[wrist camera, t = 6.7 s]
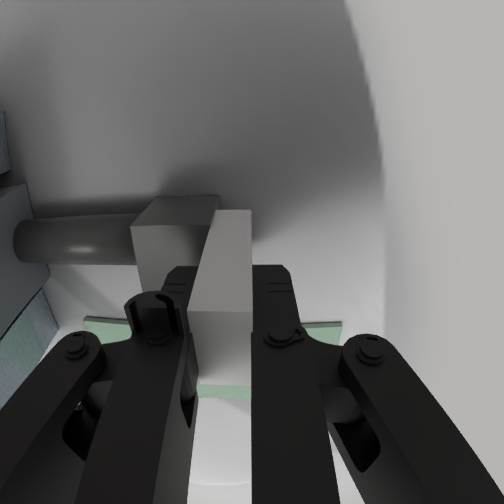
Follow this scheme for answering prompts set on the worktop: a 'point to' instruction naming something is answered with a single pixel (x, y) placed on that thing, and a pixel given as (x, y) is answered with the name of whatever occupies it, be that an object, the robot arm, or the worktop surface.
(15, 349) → the housing
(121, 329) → the mat
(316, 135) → the worktop surface
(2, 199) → the plug
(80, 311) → the worktop surface
